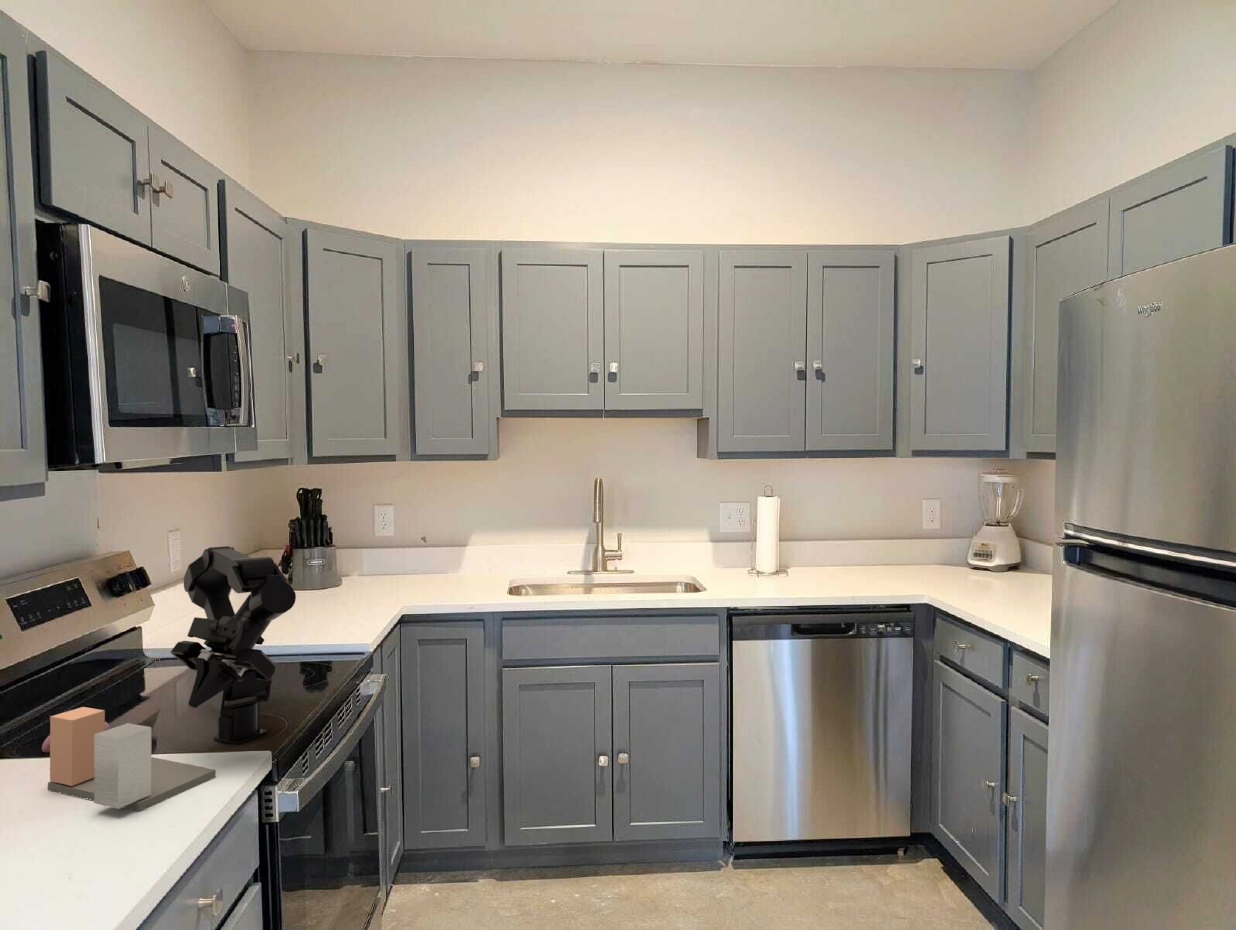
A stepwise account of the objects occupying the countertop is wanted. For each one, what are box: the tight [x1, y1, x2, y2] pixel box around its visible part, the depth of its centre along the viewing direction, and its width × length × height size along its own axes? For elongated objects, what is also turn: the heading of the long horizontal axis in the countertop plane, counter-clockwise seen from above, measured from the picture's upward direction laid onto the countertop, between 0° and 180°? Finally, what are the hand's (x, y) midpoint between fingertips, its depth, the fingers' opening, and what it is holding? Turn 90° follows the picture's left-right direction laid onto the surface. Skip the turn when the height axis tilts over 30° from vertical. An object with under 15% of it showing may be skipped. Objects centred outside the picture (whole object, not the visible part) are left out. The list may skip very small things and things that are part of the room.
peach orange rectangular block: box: [49, 706, 106, 786], centre depth 118 cm, size 5×5×10 cm
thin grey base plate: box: [47, 756, 217, 812], centre depth 119 cm, size 13×20×1 cm, turn 69°
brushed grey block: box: [93, 722, 152, 810], centre depth 110 cm, size 5×5×10 cm
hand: (191, 706), depth 121 cm, fingers closed
